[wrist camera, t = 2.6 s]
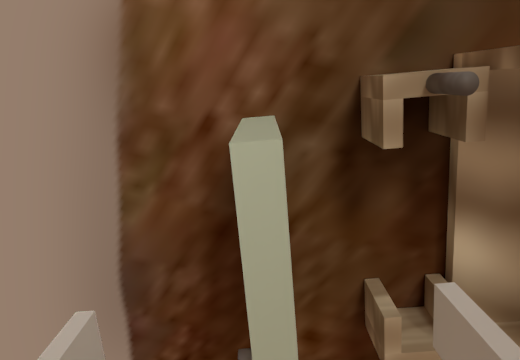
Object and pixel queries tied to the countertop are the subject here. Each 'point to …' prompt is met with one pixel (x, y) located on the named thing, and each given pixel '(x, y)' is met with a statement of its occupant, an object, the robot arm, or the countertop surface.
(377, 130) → the carcass
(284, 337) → the door
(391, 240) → the countertop surface
